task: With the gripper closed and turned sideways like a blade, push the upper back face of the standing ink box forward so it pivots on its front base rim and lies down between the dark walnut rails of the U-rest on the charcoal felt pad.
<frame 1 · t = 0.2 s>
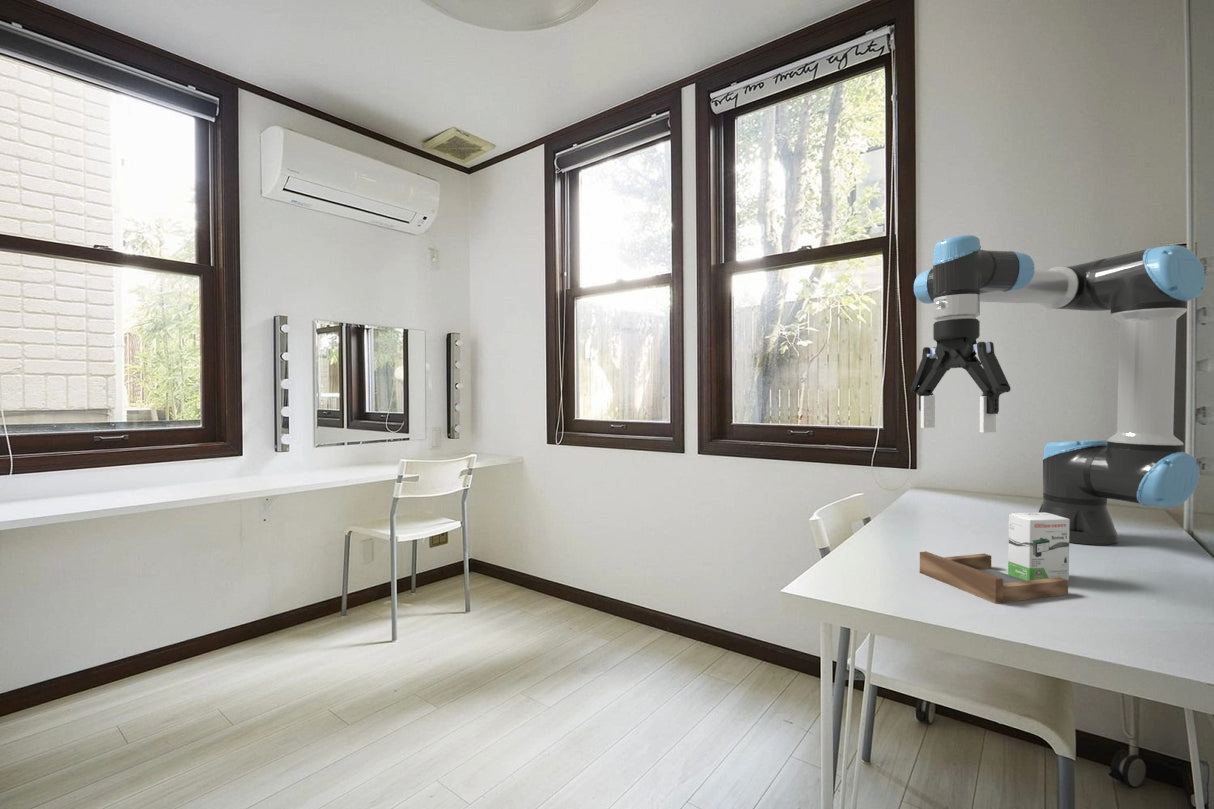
hand: (955, 430, 106), 28 cm above the table, fingers open, 13 cm apart
ink box: (1037, 578, 103), on the table
u rest: (994, 582, 101), on the table
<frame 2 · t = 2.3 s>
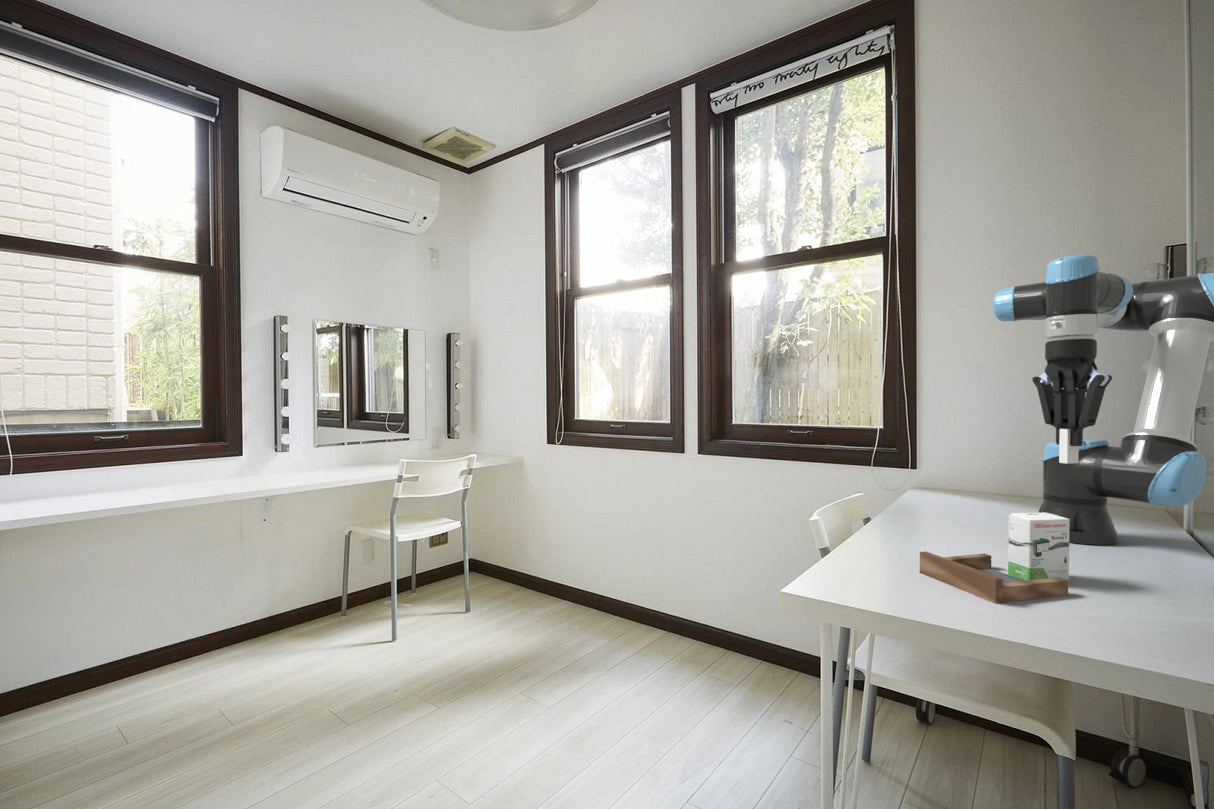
hand: (1068, 462, 105), 21 cm above the table, fingers closed
nothing on the table moved.
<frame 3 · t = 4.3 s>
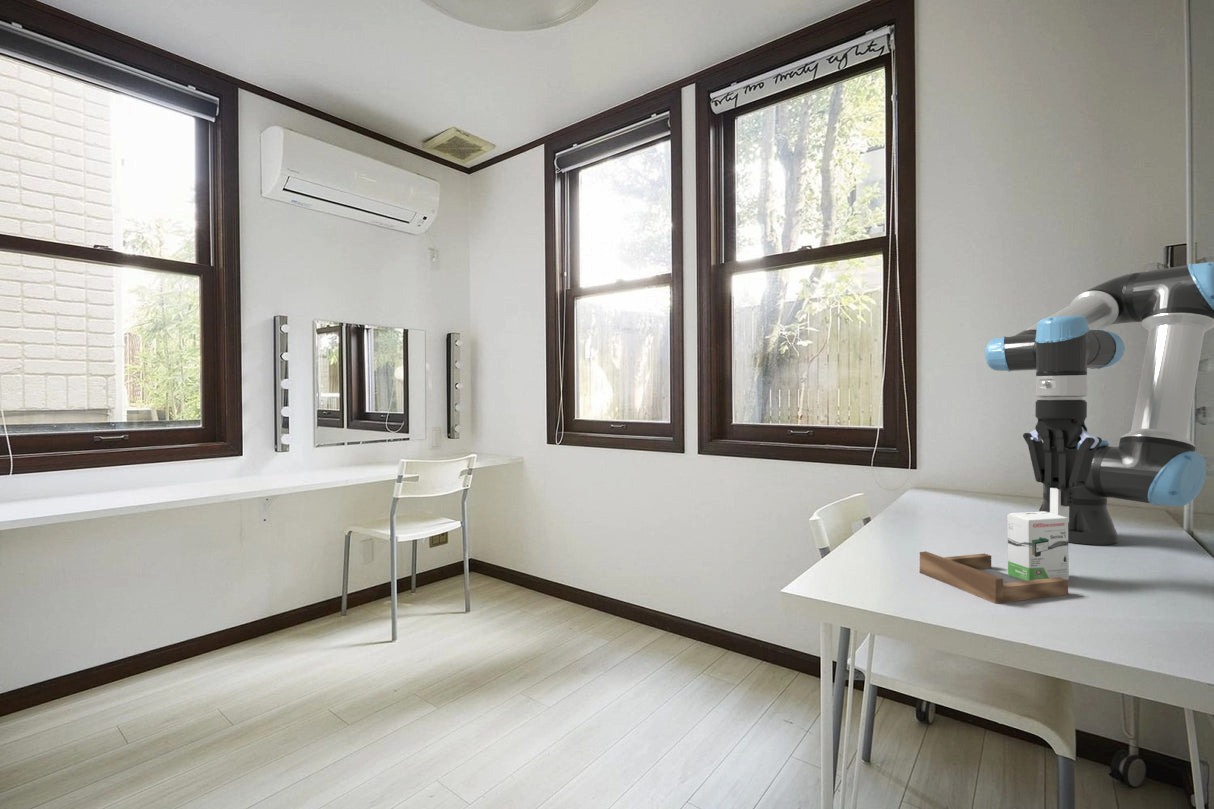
hand: (1059, 521, 104), 10 cm above the table, fingers closed
ink box: (1037, 578, 103), on the table, touching gripper
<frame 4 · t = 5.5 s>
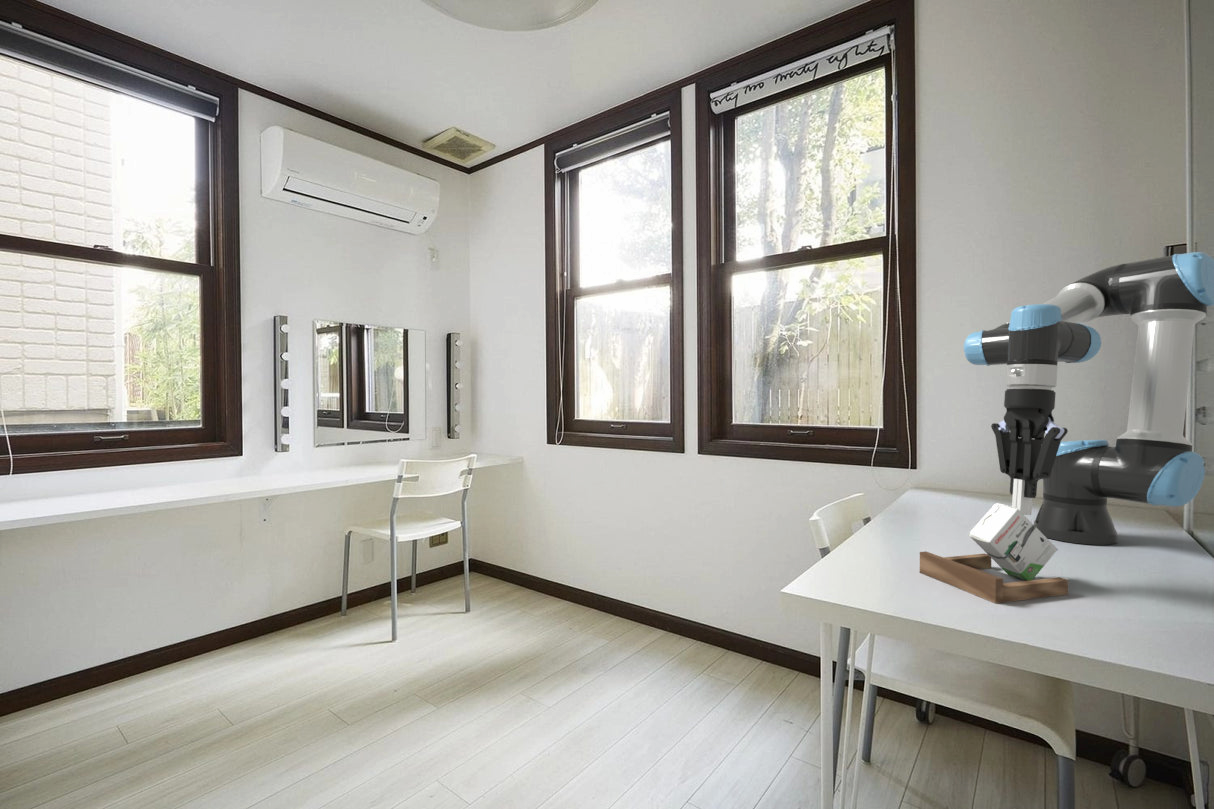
hand: (1021, 513, 103), 12 cm above the table, fingers closed
ink box: (1033, 562, 102), point 3 cm above the table, touching gripper
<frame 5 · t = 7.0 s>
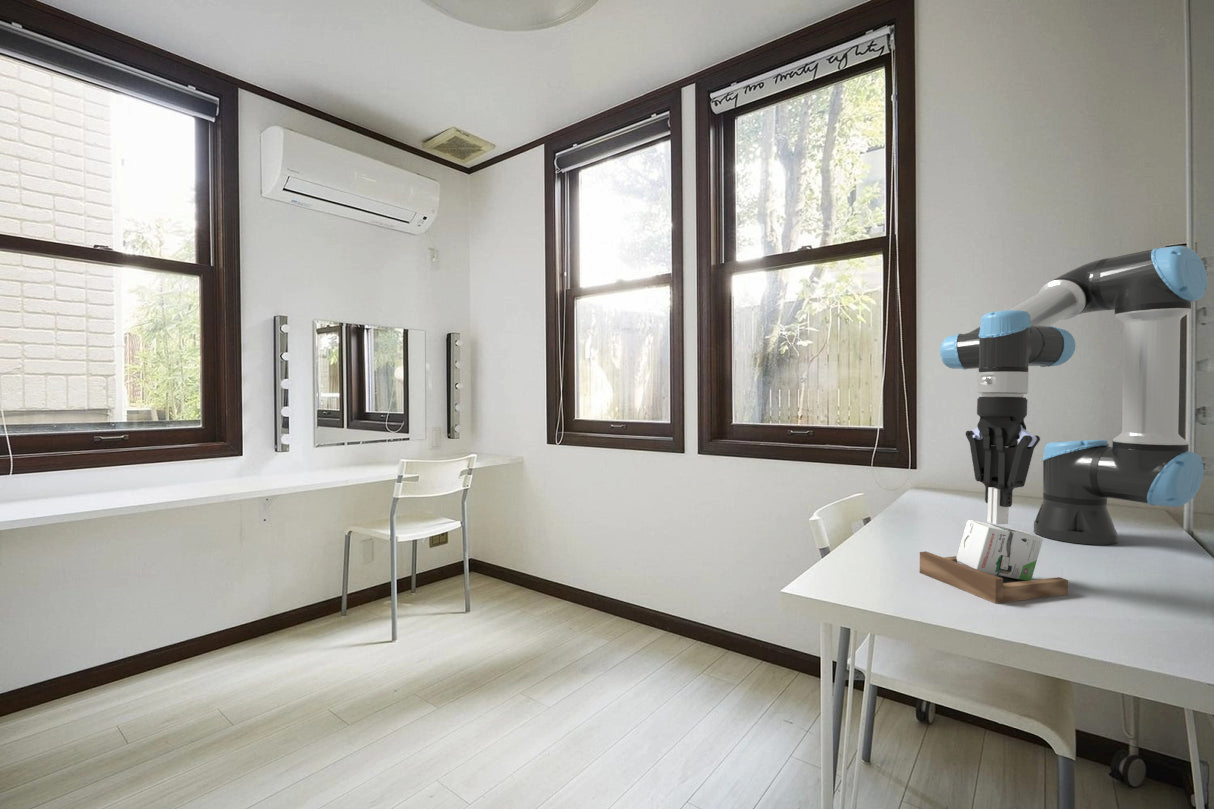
hand: (997, 522, 101), 11 cm above the table, fingers closed
ink box: (1026, 555, 102), point 4 cm above the table, touching gripper, u rest
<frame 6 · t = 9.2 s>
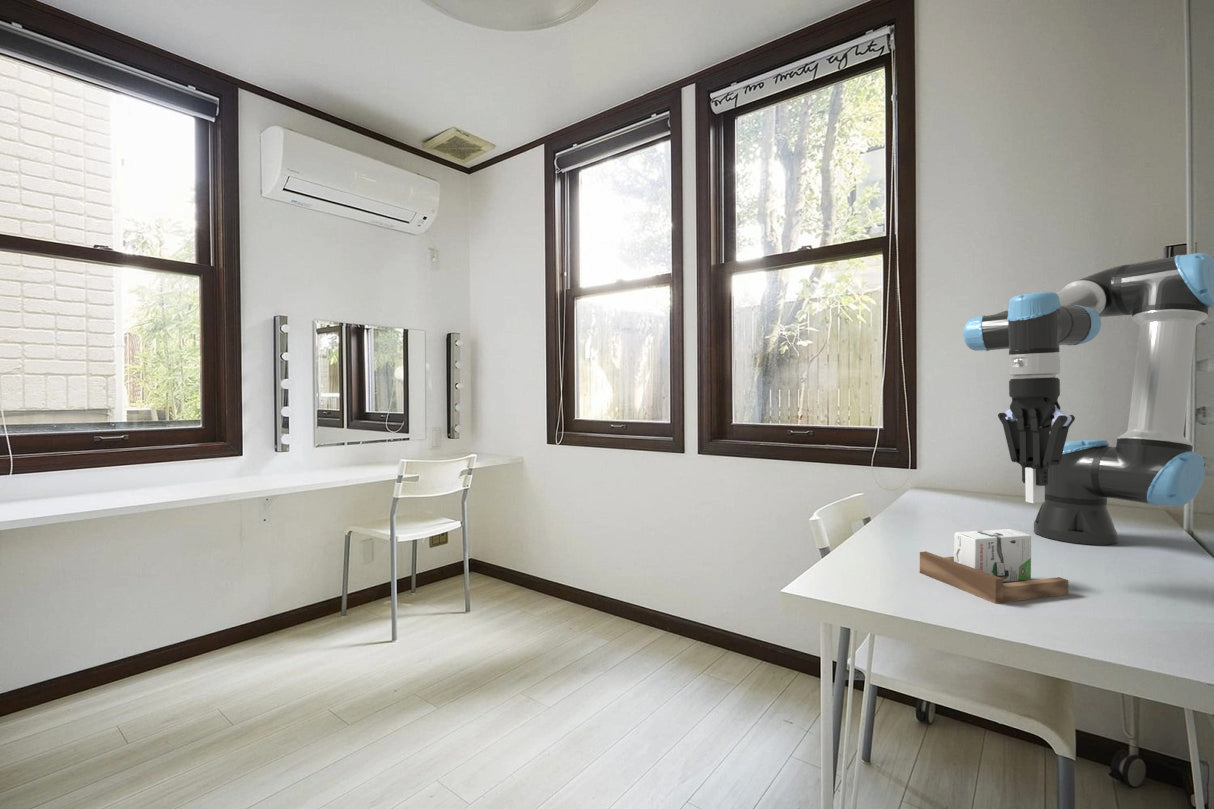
hand: (1035, 501, 103), 14 cm above the table, fingers closed
ink box: (1020, 553, 102), point 5 cm above the table, touching u rest
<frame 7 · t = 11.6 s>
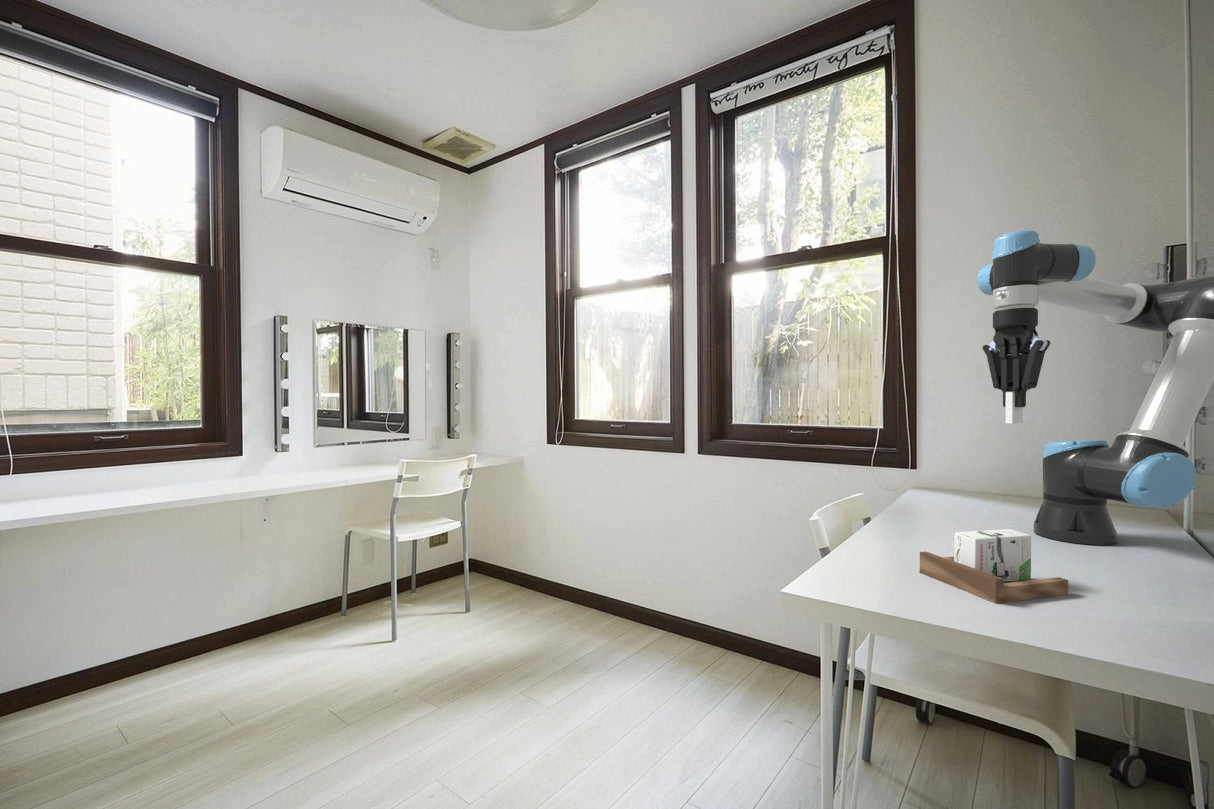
hand: (1014, 423, 113), 28 cm above the table, fingers closed
nothing on the table moved.
at the end: ink box tilted 91°; ink box inside the target area (5.6 cm from its centre), point 4.8 cm above the table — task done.
